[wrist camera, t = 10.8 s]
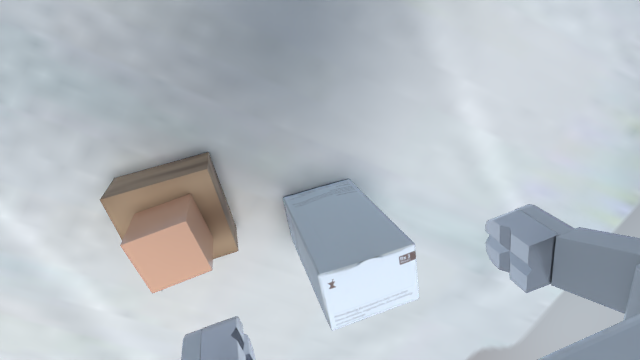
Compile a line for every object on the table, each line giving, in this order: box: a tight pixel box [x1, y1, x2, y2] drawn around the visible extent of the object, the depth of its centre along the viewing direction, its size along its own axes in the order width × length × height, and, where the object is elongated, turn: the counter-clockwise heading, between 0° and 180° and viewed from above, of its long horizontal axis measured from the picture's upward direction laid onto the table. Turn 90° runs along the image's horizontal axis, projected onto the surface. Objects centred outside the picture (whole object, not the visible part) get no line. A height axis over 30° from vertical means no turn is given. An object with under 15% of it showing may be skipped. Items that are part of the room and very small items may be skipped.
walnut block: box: [100, 152, 238, 259], centre depth 35 cm, size 9×9×5 cm
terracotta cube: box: [120, 193, 213, 293], centre depth 30 cm, size 5×5×5 cm
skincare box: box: [283, 179, 419, 331], centre depth 34 cm, size 8×6×15 cm
